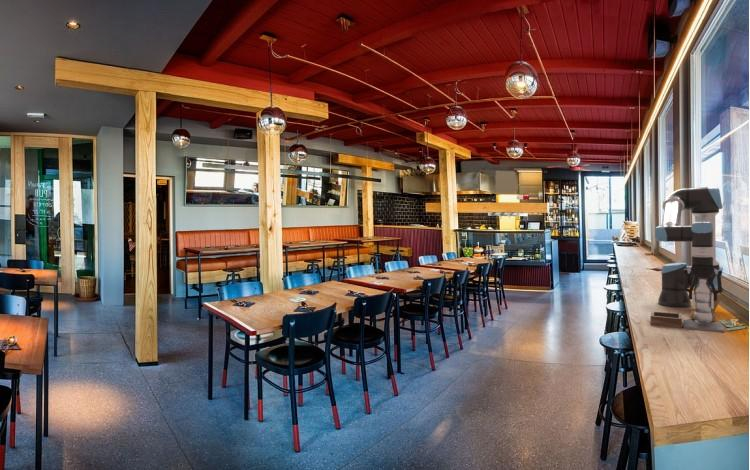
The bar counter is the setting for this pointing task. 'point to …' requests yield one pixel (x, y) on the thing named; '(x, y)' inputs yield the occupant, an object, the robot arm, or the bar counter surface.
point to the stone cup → (710, 306)
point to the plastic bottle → (702, 301)
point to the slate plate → (703, 326)
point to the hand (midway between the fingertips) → (702, 307)
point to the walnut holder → (666, 319)
